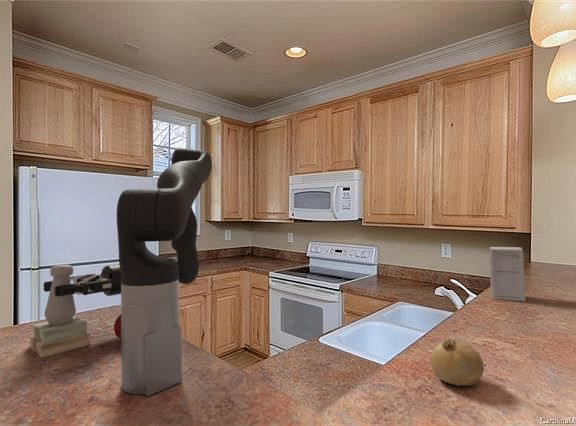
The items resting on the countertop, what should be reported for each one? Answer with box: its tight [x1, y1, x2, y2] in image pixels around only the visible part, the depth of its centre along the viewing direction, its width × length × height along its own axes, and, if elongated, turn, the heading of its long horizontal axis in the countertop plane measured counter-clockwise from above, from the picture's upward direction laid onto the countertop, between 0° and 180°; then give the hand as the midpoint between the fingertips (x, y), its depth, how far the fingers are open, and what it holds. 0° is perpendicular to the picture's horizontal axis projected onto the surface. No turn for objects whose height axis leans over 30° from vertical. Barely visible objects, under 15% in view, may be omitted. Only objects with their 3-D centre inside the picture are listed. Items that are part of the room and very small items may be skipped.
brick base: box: [29, 315, 91, 359], centre depth 73 cm, size 9×9×5 cm
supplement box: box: [489, 246, 526, 303], centre depth 111 cm, size 10×9×17 cm
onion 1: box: [113, 313, 121, 340], centre depth 75 cm, size 6×6×8 cm
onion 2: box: [429, 337, 485, 387], centre depth 55 cm, size 8×8×7 cm
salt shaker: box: [44, 264, 77, 326], centre depth 74 cm, size 6×6×13 cm
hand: (49, 289), depth 72 cm, fingers open, 7 cm apart
